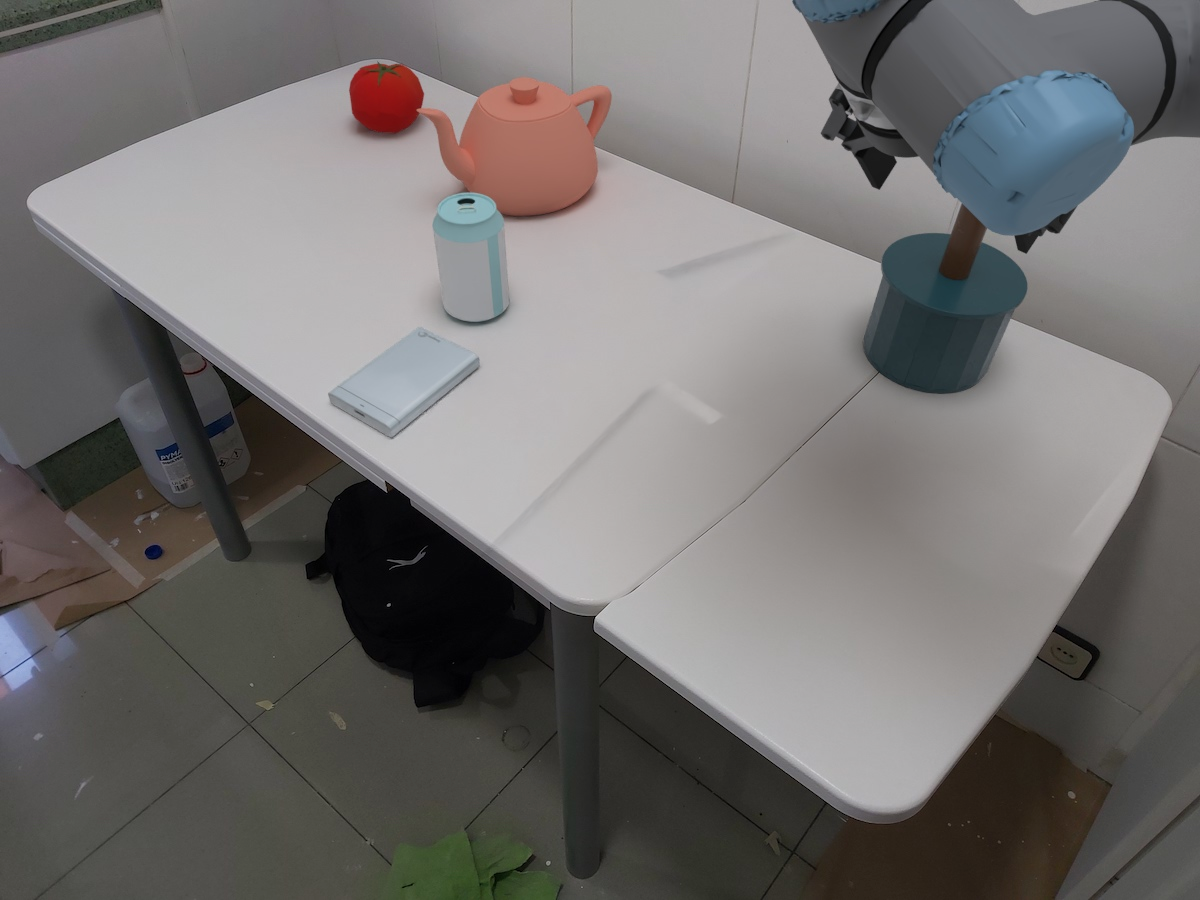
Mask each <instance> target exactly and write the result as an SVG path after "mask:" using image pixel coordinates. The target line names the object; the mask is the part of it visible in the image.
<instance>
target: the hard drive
mask: <svg viewBox="0 0 1200 900" xmlns="http://www.w3.org/2000/svg"><path fill="white" fill-rule="evenodd" d="M480 361H481V360H480V357H479V356H478V354H476V353H474V352H473V351H471V350H469V349H466V348H464V347H463V346H460V345H458V344H456V343H455V342H452V341H451V340H449V339H446V338H444V337H442V336H441V335H439V334H436V333H434V332H433V331H431V330H428V329H426V328H424V327H422V326H418V327H416V328H415V329H413V330H412V331H410V332H409V333H408V334H407V335H405V336H403V337H402V338H401V339H399V340H398V341H397V342H395V343H394V344H393V345H391V346H390V347H389V348H387V349H386V350H384V351H383V352H381V354H379V355H377V356H376V357H375V358H373V359H372V360H370V361H369V362H368V363H366V364H364V365H363V366H362V367H361V368H360V369H358V370H357V371H356V372H354V373H353V374H352V375H350V376H349V377H347V378H346V379H345V380H343V381H342V382H340V383H339V384H338V385H336V386H335V387H334V388H332V389H330V390H329V392H328V393H327V395H328V399H329V402H330V403H331V404H332V405H333V406H335V407H337V408H339V409H340V410H342V411H344V412H346V413H347V414H348V415H351V416H352V417H354V418H356V419H358V420H359V421H361V422H363V423H364V424H365V425H368V426H370V427H371V428H373V429H375V430H377V431H379V432H380V433H382V434H383V435H385V436H387V437H388V438H393V437H394V436H395V435H397V434H398V433H400V431H402V429H404V428H405V427H407V426H408V425H410V423H411V422H413V421H414V420H415V419H416V418H418V417H419V416H420V415H422V414H423V413H424V412H425V411H426V410H427V409H429V408H430V407H431V406H432V405H434V404H435V403H436V402H437V401H439V400H440V399H441V398H442V397H444V396H445V395H446V394H447V393H448V392H450V391H452V389H454V387H456V386H457V385H458V384H460V383H461V382H462V381H463V380H464V379H466V377H468V376H469V375H470V374H472V373H473V372H474V371H475V370H476V369H478V368H479V367H480V366H481V362H480Z"/></svg>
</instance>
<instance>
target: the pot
mask: <svg viewBox="0 0 1200 900" xmlns="http://www.w3.org/2000/svg"><path fill="white" fill-rule="evenodd" d="M1015 310H1016V309H1014V310H1013V311H1011V312H1009V313H1007V314H1004V315H1001V316H998V317H993V318H987V319H961V318H954V317H949V316H944V315H940V314H936V313H933V312H930V311H928V310H925V309H922V308H920V307H918V306H916V305H914V304H912V303H910V302H908V301H907V300H905V299H904V298H902V297H901V296H900V295H898V294H897V293H896V292H895V291H894V290H893V289H892V288H891V287H890V286H889V285H888V283H887V282H886V281H885V279H884V277H883V275H882V277H881V279H880V283H879V286H878V290H877V293H876V296H875V300H874V303H873V306H872V310H871V313H870V317H869V320H868V323H867V327H866V329H865V332H864V337H863V339H862V341H863V344H862V346H863V351H864V354H865V356H866V358H867V360H868V361H869V363H870V364H871V365H872V366H873V367H874V368H875V370H877V372H879V373H880V374H881V375H883V376H884V377H886V378H887V379H889V380H890V381H892V382H893V383H896V384H899V385H900V386H903V387H906V388H908V389H912V390H915V391H920V392H924V393H931V394H951V393H952V394H953V393H958V392H961V391H965V390H968V389H970V388H972V387H973V386H976V385H977V384H978V383H980V382H981V381H982V379H983V378H984V377H985V375H986V374H987V372H988V371H989V369H990V367H991V364H992V362H993V359H994V357H995V355H996V353H997V351H998V349H999V346H1000V343H1001V341H1002V339H1003V337H1004V334H1005V333H1006V330H1007V328H1008V326H1009V324H1010V321H1011V320H1012V317H1013V315H1014V312H1015Z"/></svg>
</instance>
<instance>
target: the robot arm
mask: <svg viewBox="0 0 1200 900" xmlns="http://www.w3.org/2000/svg"><path fill="white" fill-rule="evenodd" d="M792 4H793V7H794V8H795V9H796V10H797V12H798V13H799V14H800V13H801V15H802V16H803V19H804V20H805V22H806V24H807V26H808V27H809V29H810V31H811V33H812V35H813V37H814V39H815V40H816V42H817V44H818V46H819V49H820V50H821V52H822V54H823V55H824V57H825V60H826V61H827V64H828V65H829V66H830V69H831V71H832V74H833V75H834V78H835V79H836V81H837V82H838V83H837V85H836V86H835V87H834V90H833V91H832V92H831V94H830V96H829V97H828V102H829V104H830V107H831V112H830V114H829V116H828V118H827V120H826V122H825V124H824V125H823V127H822V129H821V132H820V135H821V137H823V138H824V139H825V140H827V141H830V142H831V141H832V142H833V141H834V140H835V139H836V138H838V139H840V140H841V141H842V142H841V144H840V145H841V147H843V149H844V151H847V152H851V154H852V155H853V157H854V158H855V160H856V161H857V162H858V164H859V166H860V168H861V169H862V171H863V173H864V175H865V177H866V178H867V180H868V182H869V184H870V186H871V188H874V189H876V190H878V191H879V190H880V191H881V189H882V187H883V186H884V184H885V182H886V181H887V179H888V178H889V176H890V174H891V173H892V171H893V170H894V168H895V167H896V165H897V163H898V161H897V159H896V158H903V159H904V158H905V159H907V158H918V157H919V158H920V159H921V161H922V162H923V163H924V164H925V166H926V167H927V168H928V169H929V170H930V172H931V173H932V174H933V176H935V178H936V179H935V180H936V181H937V183H938V184H939V185H940V186H941V188H942V189H943V190H944V191H945V193H947V194H948V193H949V194H950V195H951V196H952V198H954V199H957V200H958V201H959V202H960V203H961V204H963V205H964V206H965V207H966V208H967V209H968V210H969V211H970V212H971V213H972V214H973V215H974V216H975V217H976V218H977V219H978V220H979V221H980V222H981V223H982V224H983V225H984V226H985V227H986V228H987V230H989V231H990V232H993V233H995V234H998V235H1000V236H1007V237H1008V236H1010V237H1014V241H1015V245H1016V249H1017V251H1018V252H1021V253H1023V254H1026V255H1027V254H1028V252H1029V251H1030V250H1031V248H1032V246H1033V245H1034V243H1035V242H1036V240H1037V239H1038V237H1043V236H1044V234H1045V233H1046V232H1047V231H1048V232H1049V233H1050V234H1051V233H1052V234H1054V235H1057V234H1058V235H1059V234H1060V233H1061V232H1062V230H1063V228H1064V227H1065V226H1066V224H1067V223H1068V221H1069V220H1070V218H1071V217H1072V215H1073V214H1074V212H1075V211H1076V209H1077V208H1078V206H1079V205H1080V204H1082V203H1083V202H1084V201H1085V200H1087V199H1088V198H1089V197H1090V196H1091V195H1093V194H1094V193H1095V192H1096V191H1097V190H1098V189H1099V188H1100V187H1101V186H1102V185H1103V184H1104V183H1105V182H1106V181H1107V180H1108V179H1109V177H1110V176H1111V175H1112V174H1113V173H1114V172H1115V171H1116V170H1117V169H1118V167H1119V166H1120V164H1121V163H1122V162H1123V160H1124V159H1125V157H1126V156H1127V154H1128V152H1129V150H1130V148H1131V147H1133V146H1136V145H1138V144H1141V143H1144V142H1145V143H1146V142H1147V141H1150V140H1154V139H1155V140H1156V139H1161V138H1199V139H1200V0H1094V1H1091V2H1087V3H1082V4H1077V5H1074V6H1069V7H1063V8H1059V9H1054V10H1050V11H1045V12H1042V13H1038V14H1031V13H1029V12H1027V11H1026V10H1025V9H1024V8H1023V7H1022V6H1021V5H1020V4H1019V3H1018V2H1016V0H792ZM852 115H853V116H854V118H855V120H854V119H852V118H851V117H850V116H852Z"/></svg>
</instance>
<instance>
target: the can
mask: <svg viewBox="0 0 1200 900" xmlns="http://www.w3.org/2000/svg"><path fill="white" fill-rule="evenodd" d="M436 212H437V213H436V214H435V216H434V217H433V219H432V231H433V233H432V234H433V241H434V245H435V246H434V247H435V254H436V261H437V262H436V263H437V268H438V276H439V284H440V290H441V291H440V292H441V297H442V305H443V308H444V310H445V311H446V312H447V314H449V315H450V316H451V317H453V318H455V319H457V320H461V321H464V322H469V323H482V322H485V321H488V320H491V319H494V318H496V317H498V316H499V315H501V314H502V313H503V312H505V311H506V309H507V308H508V306H509V304H510V288H509V287H510V286H509V276H508V275H509V274H508V260H507V246H506V245H507V244H506V233H505V231H506V230H505V219H504V217H503V214H501V213H500V212H499V211H498V210H497V209H496V204H495V202H494V201H493V200H492V199H491V198H489V197H488V196H485V195H483V194H479V193H471V192H460V193H459V192H458V193H455V194H452V195H449V196H447V197H444V198H443V199H442V200H441V201H440V202H439V203H438V205H437V208H436Z"/></svg>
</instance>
